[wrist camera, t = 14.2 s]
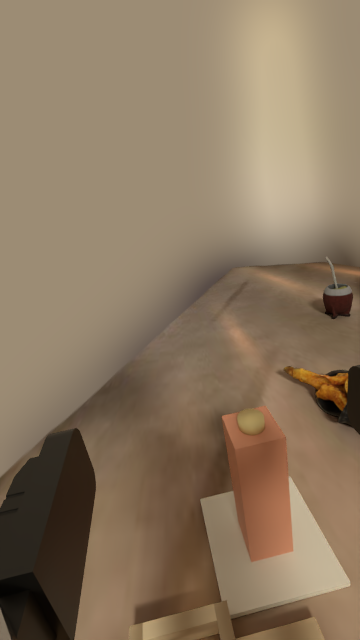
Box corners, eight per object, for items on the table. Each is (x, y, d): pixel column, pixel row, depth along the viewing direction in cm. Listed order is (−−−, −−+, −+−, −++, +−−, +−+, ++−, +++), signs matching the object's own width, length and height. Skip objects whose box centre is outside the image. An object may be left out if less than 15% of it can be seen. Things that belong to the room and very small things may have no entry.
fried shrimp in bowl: (389, 435, 38) (265, 360, 48) (368, 459, 46) (267, 391, 57) (421, 381, 41) (298, 321, 51) (396, 413, 49) (295, 356, 59)
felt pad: (225, 620, 28) (225, 616, 28) (200, 502, 39) (199, 499, 39) (350, 586, 28) (350, 582, 28) (290, 479, 40) (290, 476, 39)
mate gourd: (346, 321, 79) (348, 263, 73) (315, 317, 84) (314, 263, 79) (356, 310, 83) (358, 256, 78) (326, 307, 89) (325, 256, 83)
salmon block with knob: (251, 562, 31) (233, 440, 26) (238, 520, 35) (220, 407, 30) (293, 551, 31) (285, 428, 26) (275, 511, 36) (264, 397, 30)
